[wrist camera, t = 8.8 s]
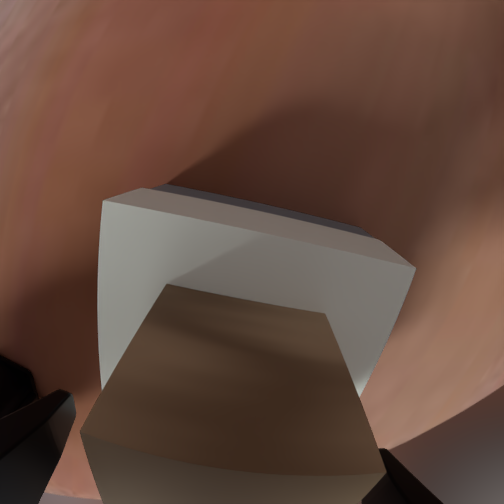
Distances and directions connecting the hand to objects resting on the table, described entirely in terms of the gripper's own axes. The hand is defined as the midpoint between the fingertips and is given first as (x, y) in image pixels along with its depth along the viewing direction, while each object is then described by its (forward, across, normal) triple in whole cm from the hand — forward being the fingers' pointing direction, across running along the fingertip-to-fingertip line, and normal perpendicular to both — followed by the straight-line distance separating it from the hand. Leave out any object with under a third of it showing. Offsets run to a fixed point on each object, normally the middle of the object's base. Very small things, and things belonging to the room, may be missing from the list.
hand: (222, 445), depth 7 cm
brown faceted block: (+3, 0, -1) cm, 3 cm away
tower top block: (+7, 0, 0) cm, 7 cm away
